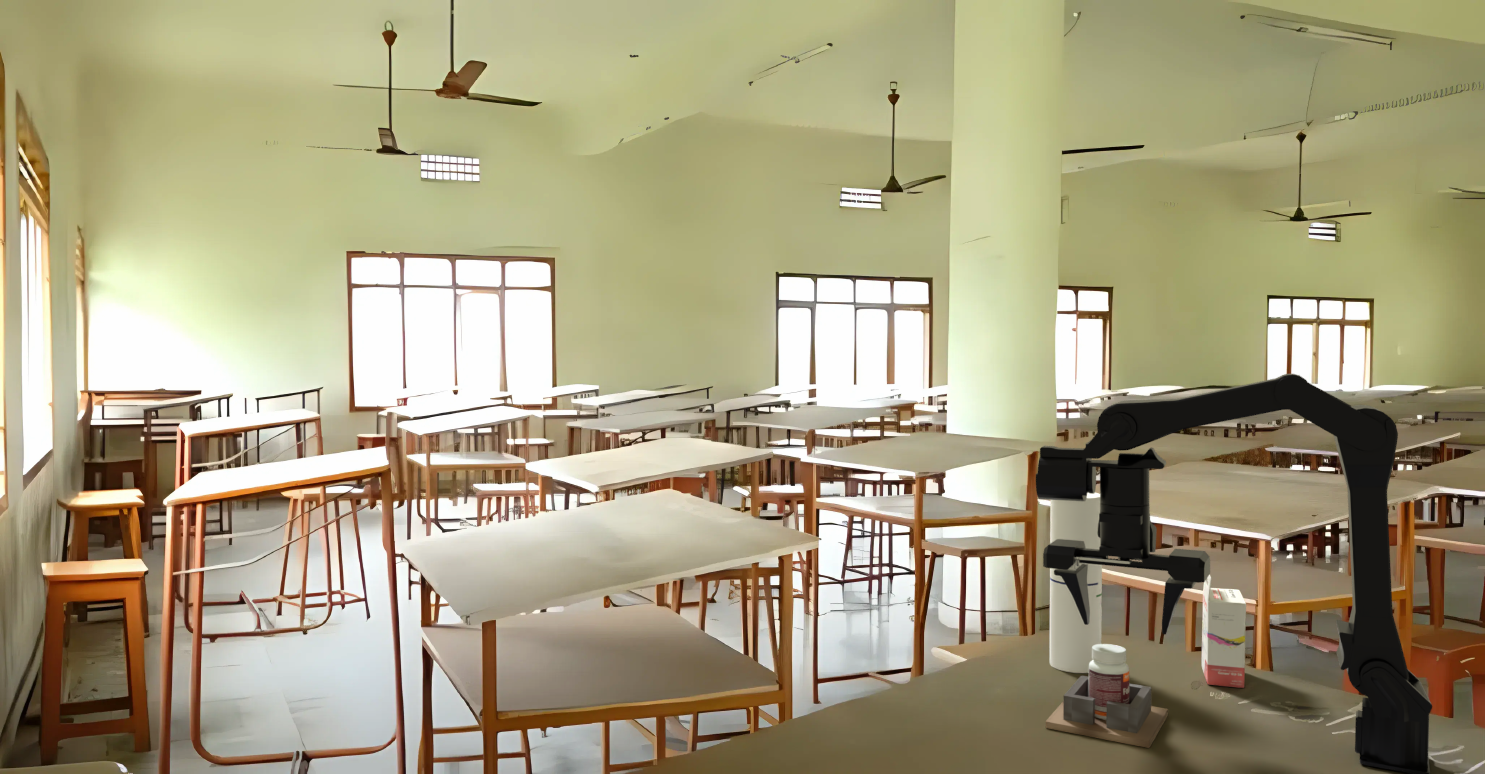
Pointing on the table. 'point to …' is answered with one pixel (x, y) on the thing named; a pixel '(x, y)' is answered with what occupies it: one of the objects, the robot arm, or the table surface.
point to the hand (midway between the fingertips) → (1125, 628)
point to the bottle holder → (1109, 716)
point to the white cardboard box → (1223, 636)
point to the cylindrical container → (1066, 623)
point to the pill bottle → (1108, 677)
